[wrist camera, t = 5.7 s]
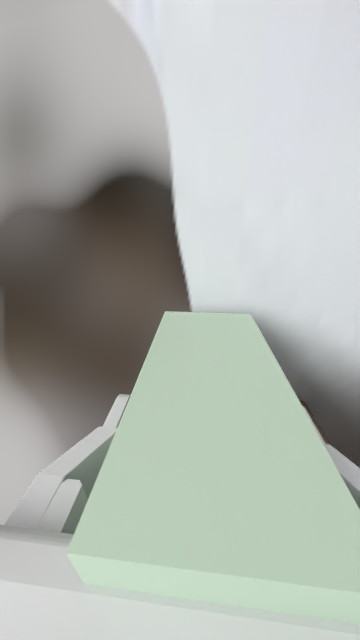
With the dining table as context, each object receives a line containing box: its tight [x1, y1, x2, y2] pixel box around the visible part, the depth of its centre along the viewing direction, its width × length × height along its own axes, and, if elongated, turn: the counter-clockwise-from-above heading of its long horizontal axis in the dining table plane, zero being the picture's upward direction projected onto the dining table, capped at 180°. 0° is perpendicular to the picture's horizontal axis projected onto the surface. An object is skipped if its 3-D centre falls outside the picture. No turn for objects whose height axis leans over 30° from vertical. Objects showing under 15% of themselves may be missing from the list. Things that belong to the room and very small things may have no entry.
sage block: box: [66, 312, 360, 624], centre depth 8 cm, size 4×6×9 cm
